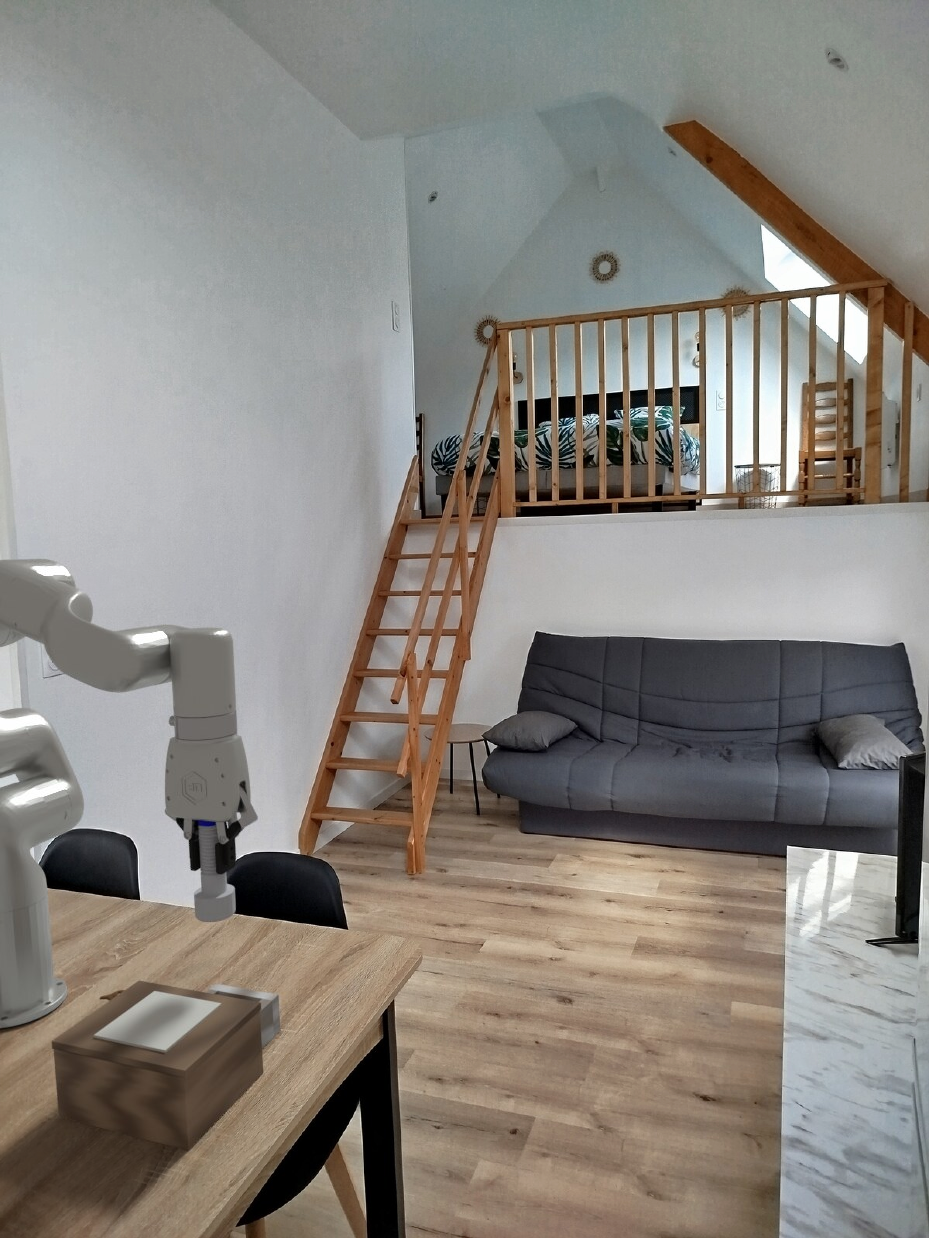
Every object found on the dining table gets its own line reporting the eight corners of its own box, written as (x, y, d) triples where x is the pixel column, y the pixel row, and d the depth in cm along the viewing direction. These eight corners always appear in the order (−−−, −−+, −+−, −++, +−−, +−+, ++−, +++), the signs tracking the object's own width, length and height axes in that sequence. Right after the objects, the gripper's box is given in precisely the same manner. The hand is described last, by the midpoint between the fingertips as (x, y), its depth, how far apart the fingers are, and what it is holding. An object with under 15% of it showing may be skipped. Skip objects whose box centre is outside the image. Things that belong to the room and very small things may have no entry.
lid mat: (93, 1037, 96) (93, 1034, 96) (154, 993, 105) (154, 990, 105) (165, 1052, 92) (165, 1050, 92) (221, 1005, 102) (221, 1003, 102)
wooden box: (57, 1116, 96) (51, 1040, 95) (186, 1012, 117) (182, 950, 116) (190, 1150, 90) (185, 1070, 89) (301, 1034, 111) (297, 968, 110)
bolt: (240, 906, 110) (229, 923, 105) (202, 906, 110) (189, 923, 105) (235, 789, 109) (223, 800, 104) (196, 789, 109) (183, 801, 104)
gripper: (132, 729, 105) (140, 872, 106) (243, 736, 99) (251, 887, 101) (172, 717, 112) (179, 851, 113) (279, 723, 106) (285, 865, 108)
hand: (213, 867), depth 107 cm, fingers closed on bolt, 3 cm apart
